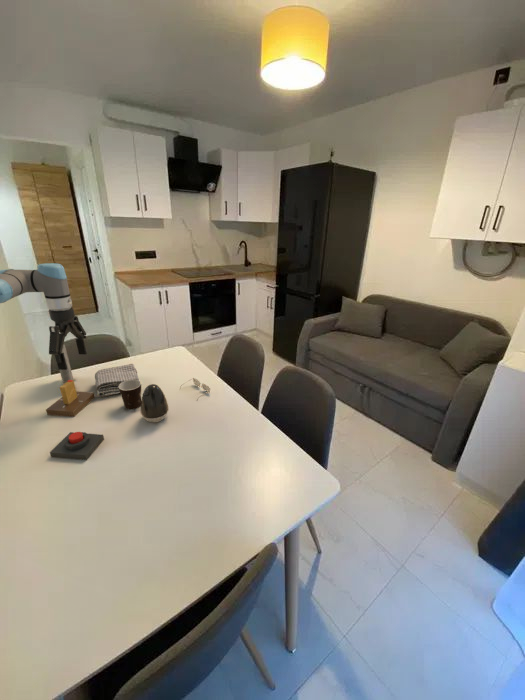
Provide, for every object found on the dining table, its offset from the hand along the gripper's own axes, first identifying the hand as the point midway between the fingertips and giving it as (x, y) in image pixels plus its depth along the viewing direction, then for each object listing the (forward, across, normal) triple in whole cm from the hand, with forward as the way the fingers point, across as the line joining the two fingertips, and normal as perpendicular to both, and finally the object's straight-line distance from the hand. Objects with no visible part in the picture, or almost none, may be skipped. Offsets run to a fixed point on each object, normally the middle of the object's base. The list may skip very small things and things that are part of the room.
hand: (73, 361), depth 113 cm
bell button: (+17, -25, -11) cm, 32 cm away
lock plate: (+21, 0, +5) cm, 21 cm away
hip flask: (+21, +16, +15) cm, 30 cm away
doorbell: (+21, -25, -11) cm, 34 cm away
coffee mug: (+21, -1, -19) cm, 28 cm away
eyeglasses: (+21, +12, -44) cm, 50 cm away
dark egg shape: (+21, -8, -32) cm, 39 cm away
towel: (+21, +16, -8) cm, 27 cm away
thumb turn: (+18, 0, +5) cm, 19 cm away
